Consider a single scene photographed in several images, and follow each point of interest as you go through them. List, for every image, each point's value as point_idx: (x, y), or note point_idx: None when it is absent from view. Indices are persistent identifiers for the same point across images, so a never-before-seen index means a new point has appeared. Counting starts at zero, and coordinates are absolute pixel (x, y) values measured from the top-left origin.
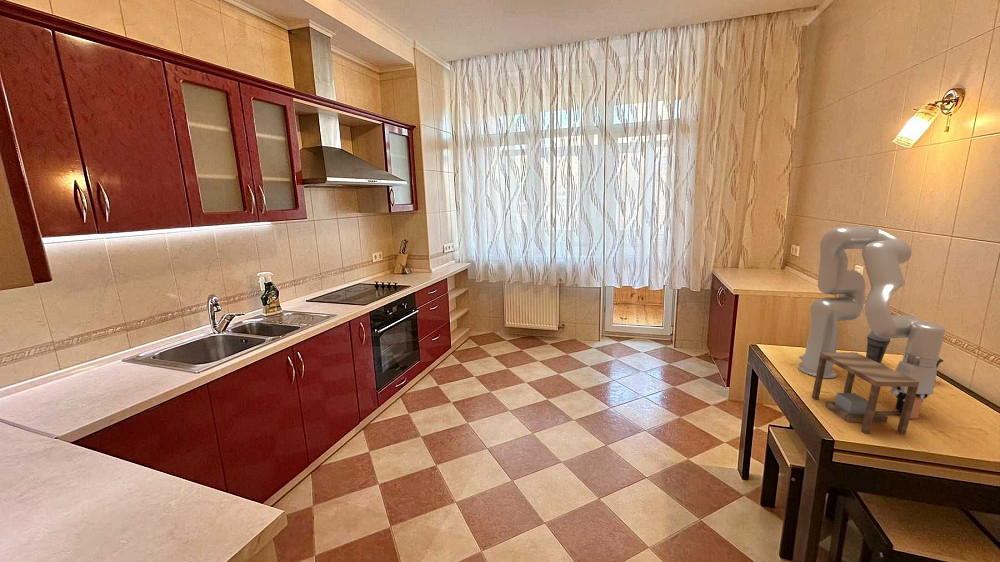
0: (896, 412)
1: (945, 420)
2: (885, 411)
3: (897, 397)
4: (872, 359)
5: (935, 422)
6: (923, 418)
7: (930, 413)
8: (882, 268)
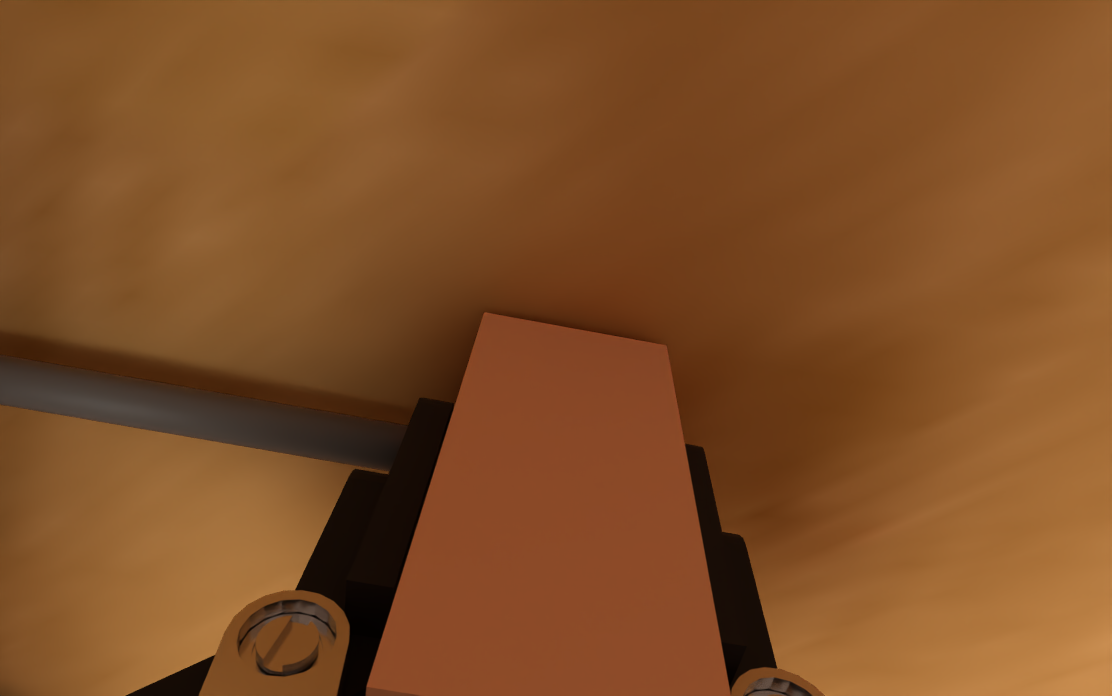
0: (336, 460)
1: (1000, 652)
2: (119, 420)
3: (191, 683)
4: None
5: None
6: None
7: (1073, 487)
8: None
